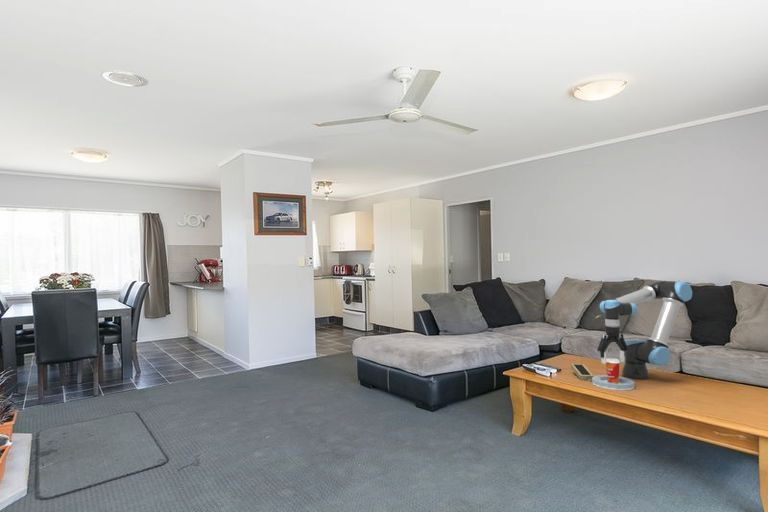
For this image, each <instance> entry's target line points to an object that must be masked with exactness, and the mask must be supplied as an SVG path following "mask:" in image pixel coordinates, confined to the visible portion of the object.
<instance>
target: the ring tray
mask: <svg viewBox="0 0 768 512" xmlns="http://www.w3.org/2000/svg"><path fill="white" fill-rule="evenodd" d="M593 376H594V377H592V382H591V383H592V385H594V386H595V387H598V388H601V389H605V390H611V391H612V390H613V391H631V390H634V389H635V386H636V385H635V383H636V382H635V381H634V380H633V379H632V378H628V377H625V376H619V381H618V383H610V382H607V374H606V375H605V374H604V375H603V374H601V375H593Z"/></svg>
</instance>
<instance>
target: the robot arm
mask: <svg viewBox="0 0 768 512" xmlns="http://www.w3.org/2000/svg"><path fill="white" fill-rule="evenodd" d="M692 297H693V289H692V287H691V286H690V284H689V283H688V282H685V281H680V280H678V281H674V280H673V281H671V280H661V281H660V280H659V281H657V282H654V283H651V284H647V285H645V286H643V288H641V289H637V290H635V291H633V292H630V293H628V294H625V295H622V296H620V297H617V298H613V299H606V300H603V301H601V302H600V303H599V310H600V312H602V313H603V314H604V321H605V322H604V325H605V327H604V328H605V329H604V330H605V331H604V332H605V333H606V334H601V337H600V342H599V343H598V345H597V346H598V347H597V350H596V351H598V352H599V353H600V359H601V362H600V363H601V364H605V365H606V359H607V352H606V351H607V348H608V347H609V345H611V343H615V344H616V345H617V347H618V348H619V362H620V363H624V365H623V367H622V370H621V376H622V377H624V378H627V379H635V380H647V379H650V372H649V370H648V367H647V364H648V365H649V364H650V365H652V366H658V367H659V366H660V367H662V366H664V365H667V364H668V362H669V361H670V359H671V351H670V349H669V345H668V341H669V337H670V335H671V332H672V330H673V327H674V324H675V321H676V318H677V315H678V313H679V310H680V308H681V307H683V306H684V305H685V302H688V301H691V299H692ZM653 300H662V302H663V304H662V306H661V309H660V312H659V315H658V317H657V320H656V323H655V325H654V328H653V331H652V334H651V336H650V337H649V338H647V339H646V340H645V339H627V340H625V338H624V334H623V333H621V331H620V330H621V329H620V325H621V324H620V318H621V316H622V317H630V316H635V315H637V313H638V306H637V305H638V304H641V303H643V302H647V301H653Z"/></svg>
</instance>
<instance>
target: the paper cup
mask: <svg viewBox="0 0 768 512" xmlns="http://www.w3.org/2000/svg"><path fill="white" fill-rule="evenodd" d="M620 363H621V361H620V359H617V358H614V357H613V358H611V357H610V358H607V357H606V364H605V369H606V375H607V382H610V383H618V381H619V377H620V376H619V375H620Z"/></svg>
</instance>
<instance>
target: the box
mask: <svg viewBox="0 0 768 512" xmlns="http://www.w3.org/2000/svg"><path fill="white" fill-rule="evenodd" d="M570 366H571V370H572V371H573V372H574V374H575V375H576V376H577V377H578V379H579V380H580V381H587V382H589V383H592V377H594V376H595V375H594V374H593V373H592V372H591V371H590V370H589V369H588V368H587V366H586V365H585V364H584V363H571V364H570Z"/></svg>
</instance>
